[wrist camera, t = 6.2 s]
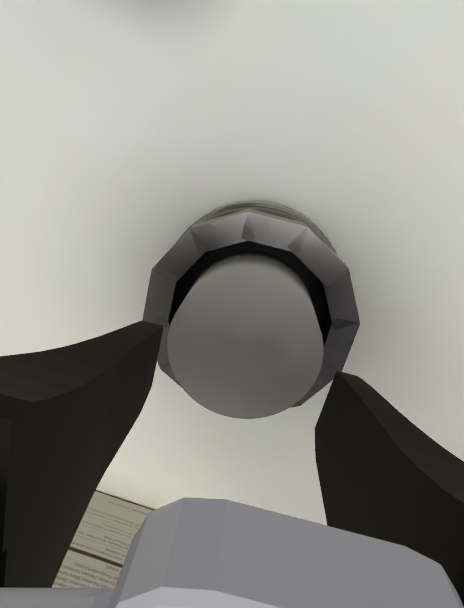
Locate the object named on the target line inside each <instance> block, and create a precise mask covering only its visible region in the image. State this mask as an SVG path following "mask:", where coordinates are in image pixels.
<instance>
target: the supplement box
mask: <svg viewBox="0 0 464 608" xmlns="http://www.w3.org/2000/svg"><path fill="white" fill-rule="evenodd" d="M152 511H154V510H151V509H148V508H145V507H142V506H139V505H136V504H132V503H129V502H126V501H123V500H121V499H118V498H115V497H112V496H109V495H106V494H103V493H100V492H97V491H95V492H94V494H93V496H92V498H91V501H90V503H89V505H88V507H87V509H86V511H85V514H84V516H83V518H82V520H81V522H80V524H79V527H78V529H77V531H76V533H75V536H74V538H73V540H72V542H71V544H70V547H69V549H68V551H67V553H66V556H65V558H64V560H63V562H62V565H61V567H60V569H59V572H58V574H57V576H56V579H55V581H54V583H53V585H52V588H115V585H116V583H117V580H118V577H119V574H120V572H121V569H122V566H123V563H124V561H125V558H126V555H127V552H128V550H129V547H130V544H131V541H132V539H133V537H134V536H135V534H136V532H137V531H138V529H139V528H140V526H141V525H142V523H143V521H144V520H145V518H146V517H147V515H148V514H149V512H152Z"/></svg>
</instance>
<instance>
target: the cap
mask: <svg viewBox="0 0 464 608" xmlns="http://www.w3.org/2000/svg"><path fill="white" fill-rule="evenodd" d="M167 352H168V359H169V362H170V366H171V369H172V371H173V373H174V376H175V377H176V379H177V381H178V382H179V384H180V385H181V387H182V388H183V389H184V390H185V392H186V393H187V394H188V395H189V396H190V397H191V398H193V399H194V400H195V401H196V402H198V403H199V404H200V405H202V406H204V407H205V408H207V409H209V410H211V411H213V412H216V413H218V414H221V415H224V416H229V417H233V418H242V419H254V418H262V417H267V416H271V415H274V414H277V413H279V412H282V411H284V410H286V409H288V408H289V407H291V406H292V405H294V404H295V403H297V402H298V401H299V400H300V399H301V398H303V397H304V396H305V395H306V393H307V392H308V391H309V390H310V389H311V387H312V386H313V384H314V382H315V381H316V379H317V376H318V374H319V372H320V369H321V365H322V360H323V339H322V334H321V331H320V327H319V324H318V321H317V317H316V314H315V311H314V307H313V304H312V301H311V297H310V294H309V291H308V288H307V286H306V284H305V281H304V280H303V278H302V277H301V275H300V274H299V273H298V272H297V270H296V269H295V268H294V267H293V266H292V265H290V264H289V263H288V262H287V261H285V260H284V259H282V258H280V257H278V256H276V255H274V254H271V253H268V252H264V251H259V250H240V251H235V252H231V253H228V254H225V255H223V256H221V257H219V258H218V259H216V260H215V261H213V262H212V263H210V264H209V265H208V266H207V267H206V268H205V269H204V270H203V271H202V273H201V274H200V275H199V277H198V278H197V280H196V282H195V283H194V285H193V286H192V288H191V290H190V291H189V293H188V294H187V296H186V297H185V299H184V301H183V302H182V304H181V305H180V307H179V309H178V310H177V312H176V313H175V315H174V318H173V320H172V322H171V325H170V328H169V332H168V339H167Z"/></svg>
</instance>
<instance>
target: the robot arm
mask: <svg viewBox="0 0 464 608" xmlns="http://www.w3.org/2000/svg"><path fill="white" fill-rule="evenodd" d="M163 328H164V326H163V325H159V324H155V323H151V322H147V321H140V322H137V323H134V324H131V325H129V326H126V327H124V328H121V329H118V330H116V331H113V332H110V333H108V334H105V335H102V336H99V337H96V338H93V339H89V340H86V341H83V342H80V343H77V344H73V345H69V346H65V347H61V348H56V349H51V350H46V351H41V352H34V353H26V354H17V355H9V356H0V608H464V462H463V461H462V460H460V459H459V458H457V457H456V456H454V455H453V454H452V453H450V452H449V451H447V450H446V449H444V448H443V447H442V446H440V445H439V444H438V443H436V442H435V441H434V440H432V439H431V438H430V437H429V436H427V435H426V434H425V433H424V432H422V431H421V430H420V429H419V428H417V427H416V426H415V425H414V424H413V423H411V422H410V421H409V420H408V419H407V418H406V417H404V416H403V415H402V414H401V413H400V412H399V411H398V410H397V409H395V408H394V407H393V406H392V405H391V404H390V403H389V402H388V401H387V400H385V399H384V398H383V397H382V396H381V395H380V394H379V393H378V392H377V391H375V390H374V389H373V388H372V387H371V386H370V385H369V384H367V383H366V382H365V381H364V380H362V379H361V378H359V377H358V376H355V375H351V374H347V373H343V372H340V371H336V374H335V377H334V379H333V382H332V385H331V387H330V390H329V392H328V395H327V398H326V400H325V403H324V406H323V408H322V411H321V414H320V416H319V419H318V422H317V424H316V427H315V452H316V463H317V469H318V475H319V481H320V486H321V492H322V497H323V503H324V508H325V514H326V519H327V525H328V526H326V525H322V524H318V523H314V522H311V521H307V520H303V519H299V518H295V517H291V516H287V515H284V514H280V513H276V512H272V511H268V510H264V509H261V508H257V507H253V506H249V505H245V504H241V503H238V502H234V501H230V500H225V499H205V498H182V499H179V500H177V501H175V502H172V503H170V504H168V505H166V506H163V507H161V508H159V509H156V510H154V511H152V512H149V514H148V515H147V517H146V518H145V520H144V521H143V523H142V525H141V526H140V528H139V529H138V531H137V532H136V534H135V536H134V537H133V539H132V541H131V544H130V547H129V550H128V552H127V555H126V558H125V561H124V563H123V566H122V569H121V572H120V574H119V577H118V580H117V583H116V585H115V588H52V585H53V583H54V581H55V579H56V576H57V574H58V572H59V569H60V567H61V565H62V562H63V560H64V558H65V556H66V553H67V551H68V549H69V547H70V544H71V542H72V540H73V538H74V536H75V533H76V531H77V529H78V527H79V524H80V522H81V520H82V518H83V516H84V514H85V511H86V509H87V507H88V505H89V503H90V501H91V498H92V496H93V494H94V492H95V490H96V488H97V486H98V484H99V482H100V480H101V478H102V477H103V475H104V473H105V471H106V469H107V468H108V466H109V464H110V463H111V461H112V459H113V458H114V456H115V454H116V453H117V451H118V449H119V448H120V446H121V445H122V443H123V441H124V440H125V438H126V436H127V435H128V433H129V431H130V430H131V428H132V426H133V424H134V423H135V421H136V419H137V418H138V416H139V414H140V412H141V410H142V408H143V406H144V403H145V401H146V399H147V396H148V394H149V391H150V389H151V387H152V382H153V377H154V372H155V367H156V362H157V358H158V353H159V348H160V343H161V338H162V333H163Z"/></svg>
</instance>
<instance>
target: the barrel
mask: <svg viewBox="0 0 464 608" xmlns="http://www.w3.org/2000/svg"><path fill="white" fill-rule="evenodd" d="M240 250H259V251H264V252H268V253H271V254H274V255H276V256H278V257H280V258H282V259H284V260H285V261H287V262H288V263H289V264H290V265H292V266H293V267H294V268H295V269H296V270H297V272H298V273H299V274H300V275H301V277H302V278H303V280H304V281H305V284H306V286H307V288H308V291H309V294H310V297H311V301H312V304H313V307H314V311H315V314H316V317H317V321H318V324H319V327H320V331H321V334H322V339H323V360H322V365H321V369H320V372H319V374H318V376H317V379H316V381H315V382H314V384H313V386H312V387H311V389H310V390H309V391H308V392H307V393H306V395H305V396H304V397H303V398H301V399H300V400H299V401H298V402H297V403H295V404H294V405H292V406H291V407H295V406H300V405H302V404H303V403H304V402H306V401H307V400H308V399H309V398H311V397H312V396H313V395H314V394H316V393H317V392H318V391H319V390H321V389H322V388H323V387H324V386H326V385H327V384H328V383H329V382H330V381H332V380H333V379H334V377H335V374H336V371H340V372H342V370H343V367H344V364H345V362H346V359H347V356H348V354H349V351H350V349H351V346H352V343H353V341H354V338H355V335H356V333H357V330H358V328H359V325H360V321H359V316H358V311H357V307H356V302H355V297H354V292H353V287H352V283H351V278H350V273H349V269H348V268H347V266H346V265H345V264H344V263H343V261H342V260H341V259H340V258H339V257H338V256H337V254H336V252H335V250H334V248H333V247H332V245H331V244H330V242H329V240H328V239H327V238H326V236H325V235H324V234H323V233H322V232H321V231H320V229H319V228H318V227H317V226H315V225H314V224H313V223H312V222H311V221H310V220H309V219H307V218H306V217H304V216H303V215H301V214H300V213H298V212H296V211H294V210H292V209H290V208H287V207H284V206H281V205H278V204H274V203H269V202H261V201H246V202H238V203H233V204H229V205H226V206H223V207H220V208H217V209H215V210H213V211H211V212H210V213H208V214H206V215H204V216H203V217H202V218H200V219H199V220H197V221H196V222H195V223H194V224H193V225H192V226H191V227H190V228H188V229H187V230H186V231H185V233H184V234H183V235H182V236H181V238H180V239H179V240H178V241H177V243H176V244H175V245H174V246H173V247H172V248H171V249H170V250H169V251H168V252H167V253H166V254H165V256H164V257H163V258H162V259H161V260H160V261H159V262H158V263H157V264H156V265H155V266H154V268H153V269H152V271H151V276H150V282H149V287H148V293H147V298H146V304H145V309H144V315H143V320H142V321H147V322H151V323H155V324H159V325H163V326H164V328H163V333H162V338H161V343H160V348H159V353H158V358H157V361H158V364H159V366H160V369H161V370H162V371H163V372H165V373H166V374H167V375H168V376H169V377H170V378H171V379H173V380H174V381H175V382H176V383H177V384H178V385H180V384H179V382H178V381H177V379H176V377H175V376H174V373H173V371H172V369H171V366H170V362H169V359H168V352H167V339H168V332H169V328H170V325H171V322H172V320H173V318H174V315H175V313H176V312H177V310H178V309H179V307H180V305H181V304H182V302H183V301H184V299H185V297H186V296H187V294H188V293H189V291H190V290H191V288H192V286H193V285H194V283H195V282H196V280H197V278H198V277H199V275H200V274H201V273H202V271H203V270H204V269H205V268H206V267H207V266H208V265H209V264H210V263H212V262H213V261H215V260H216V259H218V258H219V257H221V256H223V255H225V254H228V253H231V252H235V251H240ZM180 386H181V385H180ZM289 408H290V407H289Z"/></svg>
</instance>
